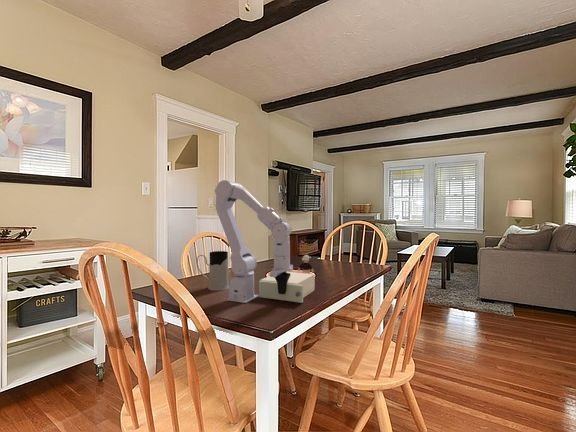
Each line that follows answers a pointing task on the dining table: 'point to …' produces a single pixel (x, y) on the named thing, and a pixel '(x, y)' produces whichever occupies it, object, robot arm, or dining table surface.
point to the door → (271, 291)
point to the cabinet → (299, 281)
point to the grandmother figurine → (306, 265)
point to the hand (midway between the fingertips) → (282, 293)
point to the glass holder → (217, 270)
